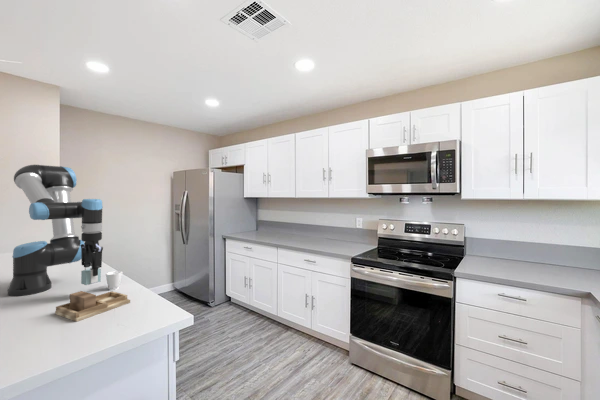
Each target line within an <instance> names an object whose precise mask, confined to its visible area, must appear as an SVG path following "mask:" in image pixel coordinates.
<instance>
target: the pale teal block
mask: <svg viewBox="0 0 600 400" xmlns="http://www.w3.org/2000/svg"><path fill="white" fill-rule="evenodd" d="M80 272H81V274H80V275H81V280H80V283H81V285H84V286H87V285H88V286H89V285H92V284H96V283H100V282H101V279H102V278H101V277H102V276H101V275H102V274H101V273H102V269H101V268H98V282H95V283H90V277H91V270H90V269H88V270H85V269H84V270H81V271H80Z"/></svg>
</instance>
